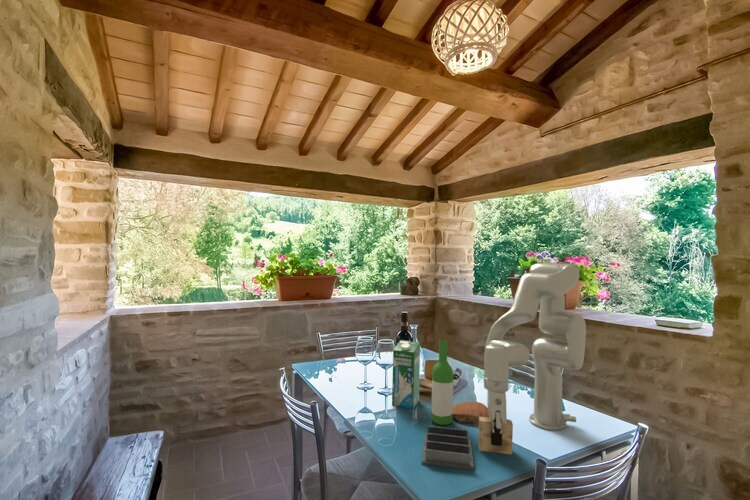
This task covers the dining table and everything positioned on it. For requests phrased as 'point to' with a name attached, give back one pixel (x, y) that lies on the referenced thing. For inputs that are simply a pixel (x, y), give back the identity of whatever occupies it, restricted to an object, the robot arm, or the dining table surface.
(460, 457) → the rack
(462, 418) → the ceramic shard
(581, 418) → the dining table surface
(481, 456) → the dining table surface
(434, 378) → the wine bottle
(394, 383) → the milk carton
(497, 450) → the oak board
